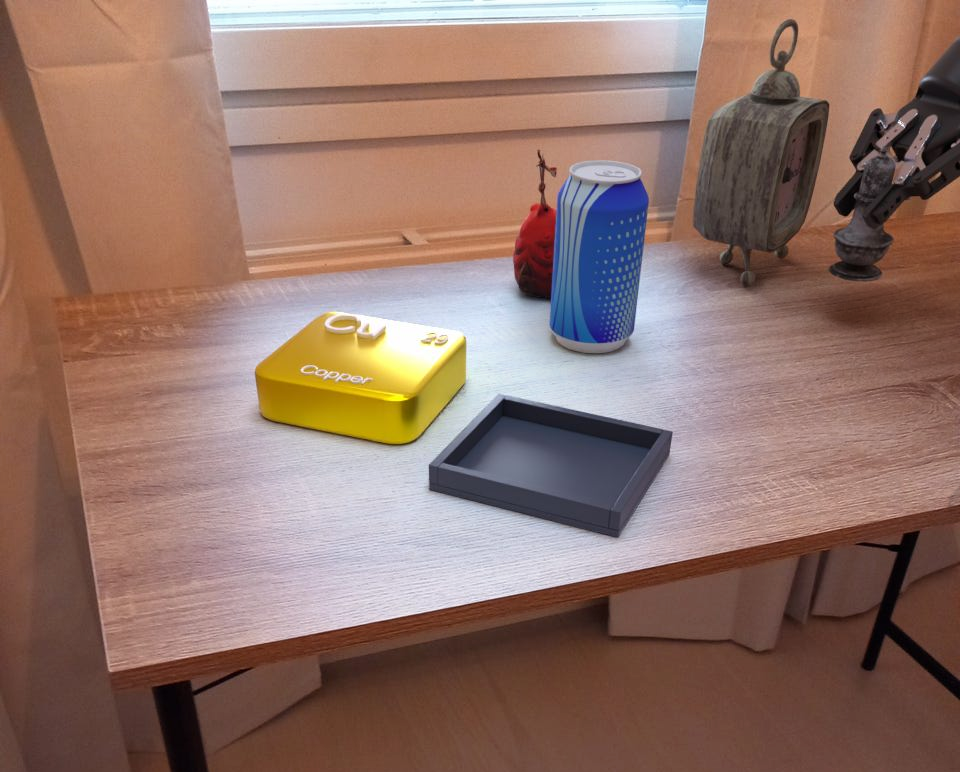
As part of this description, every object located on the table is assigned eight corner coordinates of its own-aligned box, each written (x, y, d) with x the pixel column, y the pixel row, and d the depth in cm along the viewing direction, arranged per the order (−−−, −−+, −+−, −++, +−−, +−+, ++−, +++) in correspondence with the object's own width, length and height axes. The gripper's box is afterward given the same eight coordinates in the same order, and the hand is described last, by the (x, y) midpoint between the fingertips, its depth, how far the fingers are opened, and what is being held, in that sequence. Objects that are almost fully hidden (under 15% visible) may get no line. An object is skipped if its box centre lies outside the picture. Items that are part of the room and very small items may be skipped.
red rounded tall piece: (590, 290, 113) (603, 144, 103) (551, 308, 108) (561, 158, 99) (536, 273, 116) (543, 130, 107) (497, 290, 112) (500, 143, 103)
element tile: (251, 418, 89) (243, 366, 86) (329, 351, 99) (325, 303, 96) (410, 450, 85) (408, 397, 82) (473, 376, 96) (473, 327, 93)
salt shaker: (813, 266, 106) (840, 141, 98) (859, 259, 108) (888, 135, 100) (850, 285, 102) (881, 156, 94) (897, 277, 103) (931, 150, 96)
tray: (669, 454, 85) (673, 431, 83) (617, 537, 75) (620, 512, 74) (497, 416, 90) (498, 393, 88) (428, 489, 80) (428, 464, 79)
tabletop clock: (754, 295, 112) (804, 34, 96) (679, 278, 116) (714, 24, 100) (799, 257, 122) (851, 14, 106) (728, 242, 125) (768, 5, 109)
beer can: (591, 364, 98) (607, 189, 88) (531, 336, 103) (539, 167, 93) (649, 341, 102) (671, 172, 92) (589, 315, 107) (603, 152, 97)
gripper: (915, 25, 99) (790, 173, 103) (1033, 50, 89) (890, 212, 93) (940, 81, 104) (820, 220, 108) (1054, 111, 94) (918, 263, 98)
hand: (853, 216), depth 100 cm, fingers closed on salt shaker, 3 cm apart
